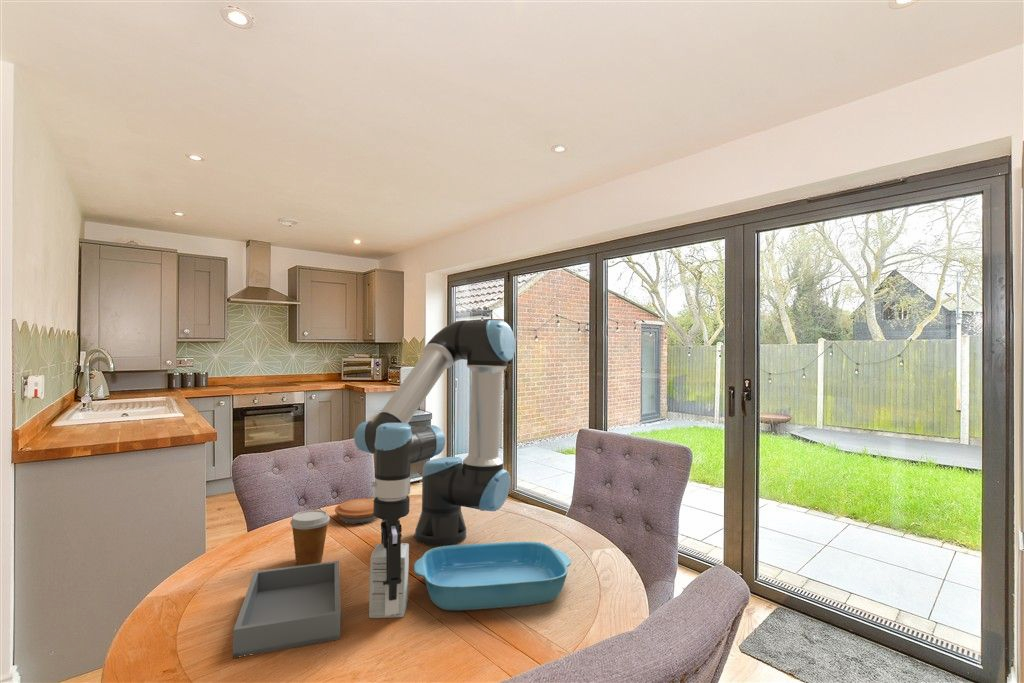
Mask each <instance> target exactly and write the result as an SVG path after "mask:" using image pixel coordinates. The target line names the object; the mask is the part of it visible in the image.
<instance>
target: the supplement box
mask: <svg viewBox="0 0 1024 683" xmlns="http://www.w3.org/2000/svg"><path fill="white" fill-rule="evenodd" d="M409 555H410V544H409V543H407V542H405V543H404V542H401V584H399V613H398V614H392V615H386V616H385V585H383V582H385V581H386V580H387V572H386V548H384V545H383V544H381V543H377V544H375V546H374V548H373V550H372V553H371V555H370V557H369V558H370V560H369V589H368V590H369V593H368V594H369V595H368V596H369V599H368V600H369V601H368V602H369V604H368V618H369V619H383V618H385V619H386V618H388V619H390V618H404V617H405V613H406V610H407V606H408V600H409V566H410V564H409V563H410V562H409V560H410V559H409V557H410V556H409Z"/></svg>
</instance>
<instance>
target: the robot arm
mask: <svg viewBox="0 0 1024 683" xmlns="http://www.w3.org/2000/svg"><path fill="white" fill-rule="evenodd" d="M515 353H516V339H515V336H514V332H513V330H512V328H511V326H510V325H509V323H508V322H506V321H503V320H497V319H496V320H494V319H483V320H457V321H455V322H452V323H449V324H448V325H446V326H445V327H443V328H442V329H440V330H439V331H438V332H437V333H436V334H435V335H433V336H432V337H431V339H430V340H429V341H428V342H427V343H426V345H425V346H424V348H423V354H422V356H421V357H420V358H419V359H418V361H417V363H416V364H415V365H414V367H413V368H412V369H411V370H410V372H409V373H408V375H407V376H406V377H405V378H404V380H403V381H402V382H401V384H400V385H399V387H398V388H397V389H396V391H395V392H394V393H393V395H391V397H390V398H389V400H388V401H387V402H386V403H385V405H384V406H383V408H382V409H381V410H380V412H379V413H378V414H377V416H376V417H375V418H374V420H373V421H372V420H367V421H363V422H361V423H359V425H357V427H356V429H355V431H354V437H353V441H354V445H355V446H356V448H357V449H358V450H359V451H362V452H365V453H369V454H373V455H374V481H373V482H371V487H374V488H373V495H374V496H375V497H374V499H373V500H374V508H373V514H374V516H375V517H377V518H376V519H379V520H381V522H380V530H381V534H380V538H381V539H380V544H383V545H384V548H386V572H387V580H386V581H385V582H383V585H385V616H386V615H392V614H398V613H399V584H401V543H402V536H403V535H402V533H403V532H402V530H403V529H402V524H401V521H400V520H401V518H405V517H407V515H408V514H410V500H411V499H410V496H409V495H410V494H411V465H412V464H414V463H417V462H421V461H424V460H427V461H425V463H424V464H423V466H422V467H423V468H422V475H421V479H422V480H421V481H422V482H421V488H422V489H421V513H420V516H419V518H418V522H417V524H416V527H415V532H414V539H415V541H416V542H417V543H419V544H421V545H424V546H428V547H442V546H452V545H458V544H459V543H462V542H464V540H465V539H466V538H467V525H466V523H465V519H464V516H463V511H462V507H464V508H467V509H468V508H470V509H475V510H478V511H482V512H486V511H487V512H497V511H499V510H500V509H501V508H502V506H503V505H504V504H505V502H506V500H507V498H508V495H509V492H510V488H511V479H512V478H511V476H510V475H511V474H510V472H509V471H508V470H506V469H504V461H503V460H502V458H501V457H500V456H499V448H500V447H499V446H500V445H499V444H500V423H501V422H500V421H501V420H500V418H501V416H500V415H501V414H500V413H501V397H502V396H501V394H502V392H501V391H502V390H501V389H502V373H503V372H504V371H505V369H507V368H508V362H510V361H511V360H512V359H513V358H514V355H515ZM460 360H466V367H467V368H468V369H469V370H470V372H471V386H470V387H471V389H470V408H469V410H470V411H469V432H468V434H469V437H468V455H466V457H465V458H464V459H463V458H462V457H460V456H447V457H446V456H445V457H438V458H434V457H437V456H438V455H440V454H441V453H442V452H444V449H445V445H446V436H445V434H444V431H443V430H442V429H441V428H440V427H438V426H436V425H432V424H431V425H424V426H414V425H410V424H409V422H410V421H411V419H412V418H413V417H414V415H415V414H416V412H417V411H418V409H419V408H420V407H421V406H422V404H423V402H424V401H425V399H426V398H427V397H428V395H429V393H430V392H431V391H432V389H433V388H434V386H435V385H436V383H437V382H438V380H439V379H440V377H441V376H442V375H443V373H444V371H446V370H447V369H450V368H451V367H452V366H453V365H454V364H455V362H457V361H460ZM433 458H434V459H433ZM428 459H430V460H428Z"/></svg>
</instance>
